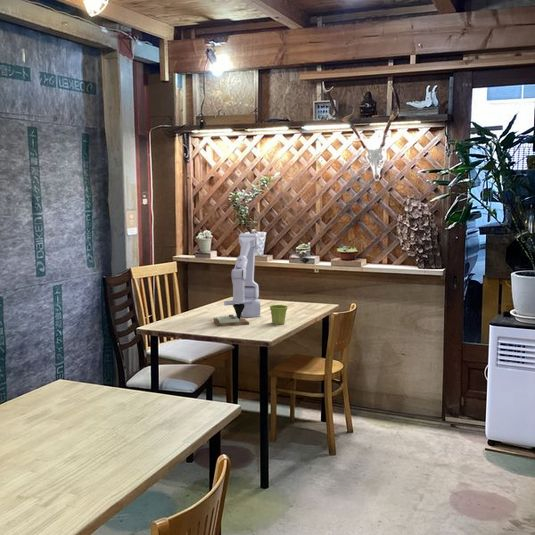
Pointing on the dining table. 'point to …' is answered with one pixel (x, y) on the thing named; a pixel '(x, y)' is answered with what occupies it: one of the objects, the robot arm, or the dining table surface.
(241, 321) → the board
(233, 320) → the panel
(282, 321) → the plant pot
